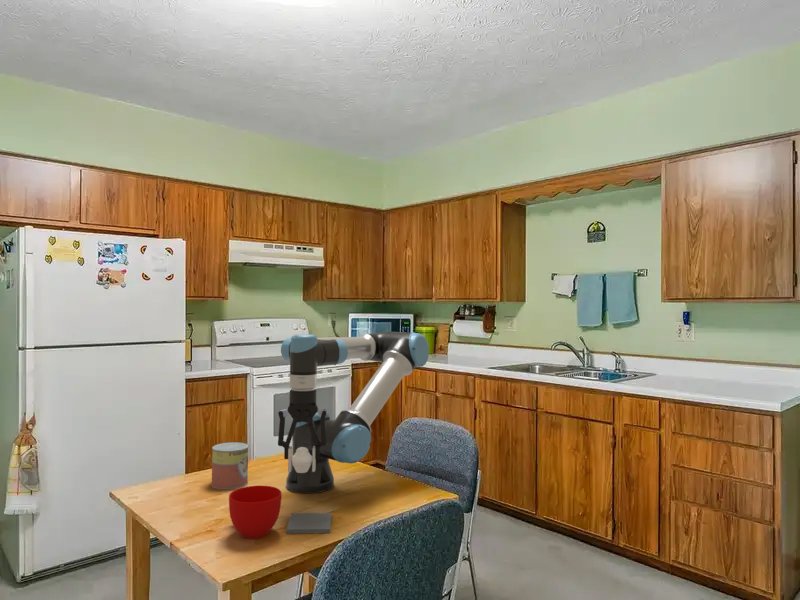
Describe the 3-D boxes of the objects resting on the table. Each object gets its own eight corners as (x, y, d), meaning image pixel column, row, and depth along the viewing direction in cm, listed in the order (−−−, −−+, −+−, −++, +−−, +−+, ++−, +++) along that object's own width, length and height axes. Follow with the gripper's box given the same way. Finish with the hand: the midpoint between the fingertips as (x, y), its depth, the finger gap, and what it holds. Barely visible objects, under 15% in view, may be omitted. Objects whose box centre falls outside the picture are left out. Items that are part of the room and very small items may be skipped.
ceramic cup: (255, 515, 150) (255, 478, 150) (290, 533, 138) (291, 494, 139) (210, 528, 141) (211, 489, 141) (245, 549, 129) (246, 506, 129)
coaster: (291, 516, 149) (291, 513, 149) (331, 516, 150) (331, 512, 150) (286, 533, 138) (286, 529, 138) (329, 532, 139) (329, 528, 139)
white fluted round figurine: (286, 471, 155) (287, 446, 155) (304, 466, 159) (305, 442, 159) (298, 476, 150) (299, 450, 151) (317, 471, 155) (317, 447, 155)
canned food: (237, 490, 170) (238, 452, 170) (204, 487, 172) (205, 449, 172) (253, 479, 181) (254, 443, 181) (222, 477, 183) (223, 441, 183)
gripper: (266, 390, 150) (265, 474, 150) (336, 390, 152) (335, 474, 152) (271, 386, 158) (269, 466, 158) (337, 386, 160) (336, 466, 159)
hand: (301, 470), depth 155 cm, fingers closed on white fluted round figurine, 6 cm apart
